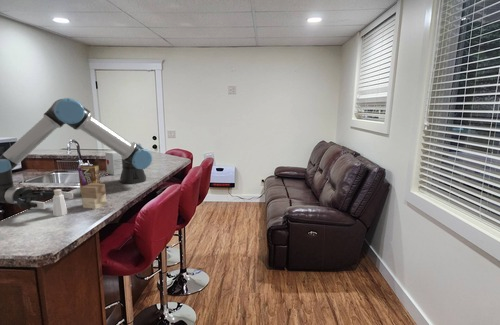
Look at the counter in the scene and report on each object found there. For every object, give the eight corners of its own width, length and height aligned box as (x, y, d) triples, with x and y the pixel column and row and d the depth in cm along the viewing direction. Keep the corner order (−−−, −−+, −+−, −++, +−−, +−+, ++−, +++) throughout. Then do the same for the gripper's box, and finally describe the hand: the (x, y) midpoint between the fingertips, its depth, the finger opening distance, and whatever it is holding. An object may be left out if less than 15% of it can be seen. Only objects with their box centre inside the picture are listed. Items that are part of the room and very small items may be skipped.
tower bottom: (94, 202, 139) (93, 192, 138) (106, 204, 138) (105, 194, 137) (82, 207, 133) (81, 197, 132) (95, 209, 131) (94, 198, 130)
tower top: (92, 193, 138) (91, 183, 137) (105, 193, 137) (104, 183, 136) (82, 197, 131) (81, 187, 130) (96, 198, 131) (95, 187, 130)
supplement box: (106, 173, 197) (104, 151, 194) (118, 171, 204) (117, 150, 201) (113, 175, 192) (112, 153, 189) (126, 173, 199) (124, 151, 196)
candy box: (101, 193, 154) (99, 165, 151) (97, 195, 150) (94, 167, 147) (85, 192, 154) (82, 165, 151) (80, 195, 150) (77, 166, 147)
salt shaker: (70, 211, 127) (67, 187, 125) (63, 216, 122) (60, 191, 120) (58, 211, 127) (55, 187, 125) (50, 216, 122) (46, 191, 120)
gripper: (47, 195, 141) (83, 199, 135) (-9, 214, 117) (32, 219, 112) (45, 180, 139) (81, 184, 134) (-12, 196, 115) (29, 201, 110)
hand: (59, 200), depth 123 cm, fingers open, 13 cm apart
